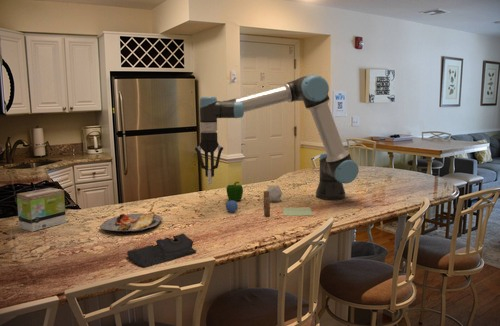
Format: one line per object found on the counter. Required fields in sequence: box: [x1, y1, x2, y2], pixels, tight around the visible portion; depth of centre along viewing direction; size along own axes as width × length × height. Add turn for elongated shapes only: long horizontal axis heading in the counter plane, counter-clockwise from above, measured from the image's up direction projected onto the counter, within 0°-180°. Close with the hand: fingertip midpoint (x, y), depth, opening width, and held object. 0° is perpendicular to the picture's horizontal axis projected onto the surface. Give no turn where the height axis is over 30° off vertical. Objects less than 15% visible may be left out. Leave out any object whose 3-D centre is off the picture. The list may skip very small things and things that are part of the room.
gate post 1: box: [263, 190, 269, 199], centre depth 190 cm, size 3×3×8 cm
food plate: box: [99, 211, 163, 233], centre depth 167 cm, size 25×23×4 cm
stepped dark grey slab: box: [126, 233, 197, 269], centre depth 136 cm, size 15×22×5 cm
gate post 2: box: [263, 197, 271, 218], centre depth 178 cm, size 3×3×8 cm
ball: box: [225, 200, 239, 213], centre depth 184 cm, size 6×6×6 cm
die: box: [266, 184, 283, 203], centre depth 204 cm, size 8×9×10 cm
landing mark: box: [281, 206, 314, 217], centre depth 184 cm, size 13×13×1 cm
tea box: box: [16, 187, 67, 233], centre depth 168 cm, size 15×10×15 cm, turn 148°
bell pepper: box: [225, 181, 244, 202], centre depth 205 cm, size 8×8×10 cm
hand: (210, 183), depth 183 cm, fingers closed
